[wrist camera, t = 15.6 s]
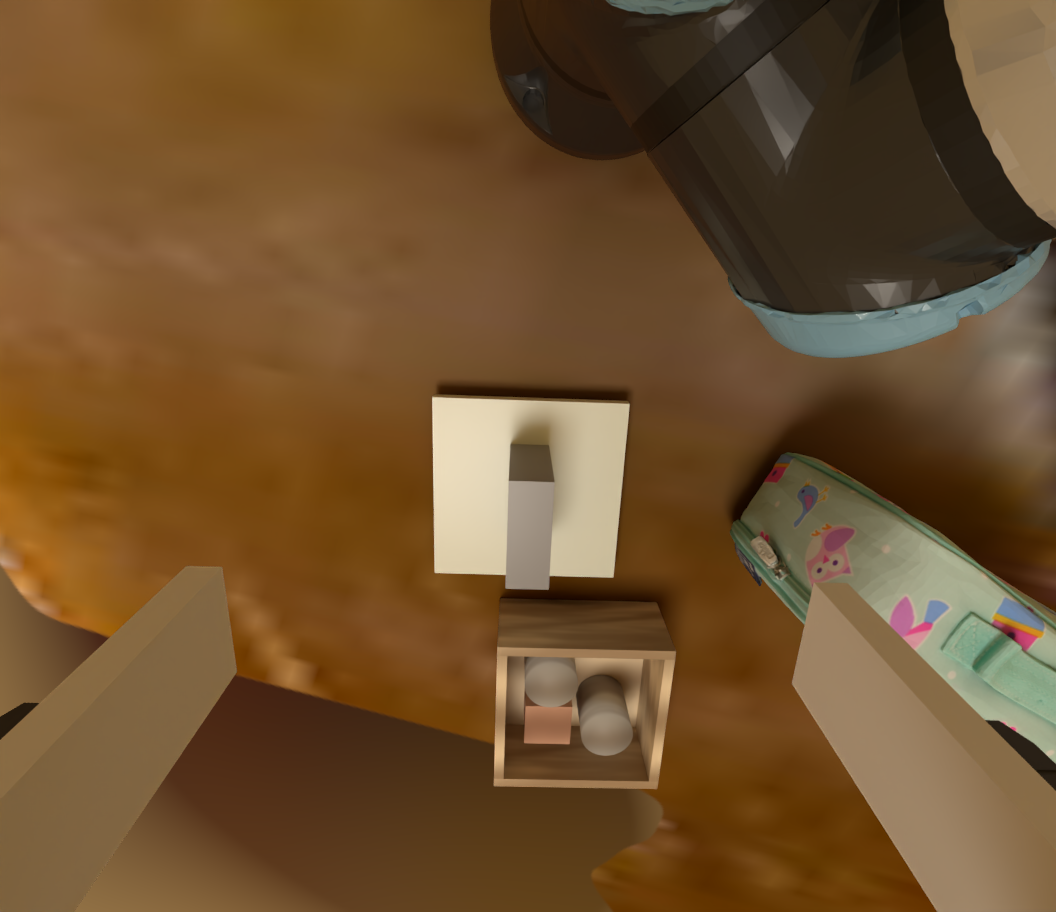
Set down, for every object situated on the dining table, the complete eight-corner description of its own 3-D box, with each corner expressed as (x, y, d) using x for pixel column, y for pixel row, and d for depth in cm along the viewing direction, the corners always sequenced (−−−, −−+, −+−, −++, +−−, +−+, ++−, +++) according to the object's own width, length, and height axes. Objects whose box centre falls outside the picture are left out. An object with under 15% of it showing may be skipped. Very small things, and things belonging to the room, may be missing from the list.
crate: (500, 598, 53) (497, 647, 46) (656, 602, 53) (676, 651, 47) (496, 724, 57) (493, 786, 51) (641, 727, 58) (657, 788, 51)
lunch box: (689, 516, 51) (802, 689, 30) (767, 417, 48) (948, 536, 28) (914, 657, 56) (1141, 887, 35) (996, 575, 53) (1293, 773, 33)
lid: (435, 391, 47) (414, 425, 37) (625, 397, 47) (651, 433, 38) (437, 561, 52) (419, 629, 42) (609, 565, 52) (630, 634, 43)
